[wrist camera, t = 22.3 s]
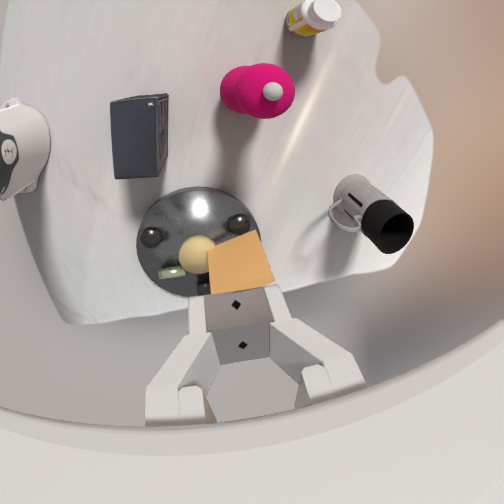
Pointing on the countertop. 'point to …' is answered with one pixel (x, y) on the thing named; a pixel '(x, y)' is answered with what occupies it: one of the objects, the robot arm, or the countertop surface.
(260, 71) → the pepper mill
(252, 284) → the tan slab with dome
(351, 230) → the glass holder
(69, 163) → the countertop surface
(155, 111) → the small box
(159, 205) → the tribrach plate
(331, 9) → the supplement bottle
